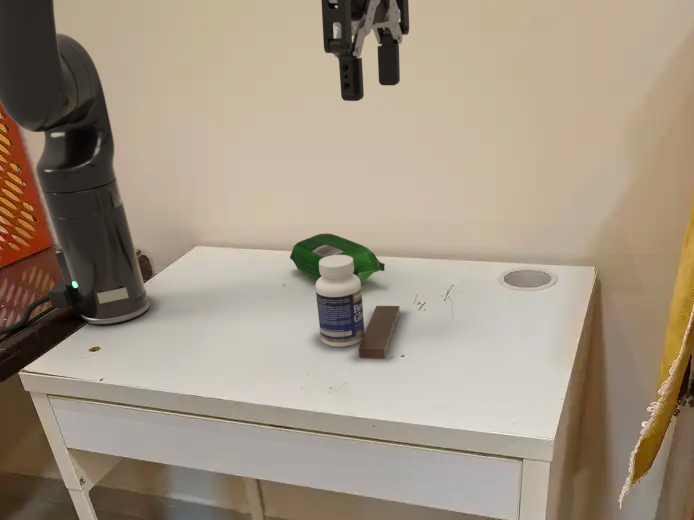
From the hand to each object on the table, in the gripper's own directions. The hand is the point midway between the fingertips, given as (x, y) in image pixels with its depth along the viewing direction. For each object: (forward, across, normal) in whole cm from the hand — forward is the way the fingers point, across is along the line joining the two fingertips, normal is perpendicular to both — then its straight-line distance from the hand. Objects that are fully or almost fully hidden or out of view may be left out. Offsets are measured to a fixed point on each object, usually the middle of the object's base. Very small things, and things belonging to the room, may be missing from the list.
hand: (371, 92), depth 75 cm
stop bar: (+26, +3, +1) cm, 26 cm away
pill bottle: (+26, +6, -3) cm, 27 cm away
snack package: (+26, -11, -13) cm, 31 cm away
